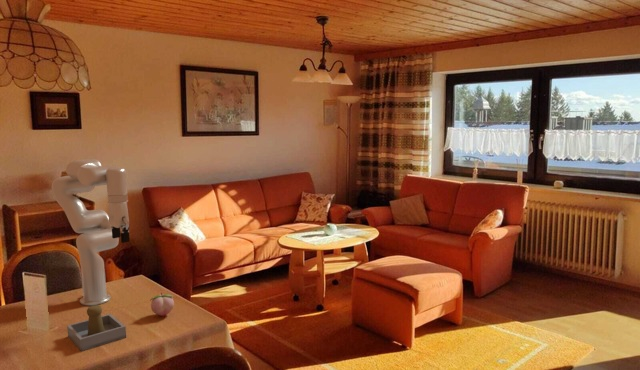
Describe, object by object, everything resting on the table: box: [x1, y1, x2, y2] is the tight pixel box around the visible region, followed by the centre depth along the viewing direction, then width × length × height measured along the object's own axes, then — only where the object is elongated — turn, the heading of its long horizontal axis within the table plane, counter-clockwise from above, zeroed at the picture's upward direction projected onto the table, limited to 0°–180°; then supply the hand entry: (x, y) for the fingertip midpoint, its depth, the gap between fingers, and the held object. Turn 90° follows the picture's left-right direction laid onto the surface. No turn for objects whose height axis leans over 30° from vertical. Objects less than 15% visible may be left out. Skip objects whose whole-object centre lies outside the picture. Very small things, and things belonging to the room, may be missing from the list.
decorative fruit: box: [150, 292, 175, 317], centre depth 208 cm, size 9×8×10 cm
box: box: [66, 313, 127, 352], centre depth 189 cm, size 16×16×4 cm
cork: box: [86, 304, 105, 336], centre depth 189 cm, size 6×6×11 cm
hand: (120, 239), depth 205 cm, fingers open, 9 cm apart
